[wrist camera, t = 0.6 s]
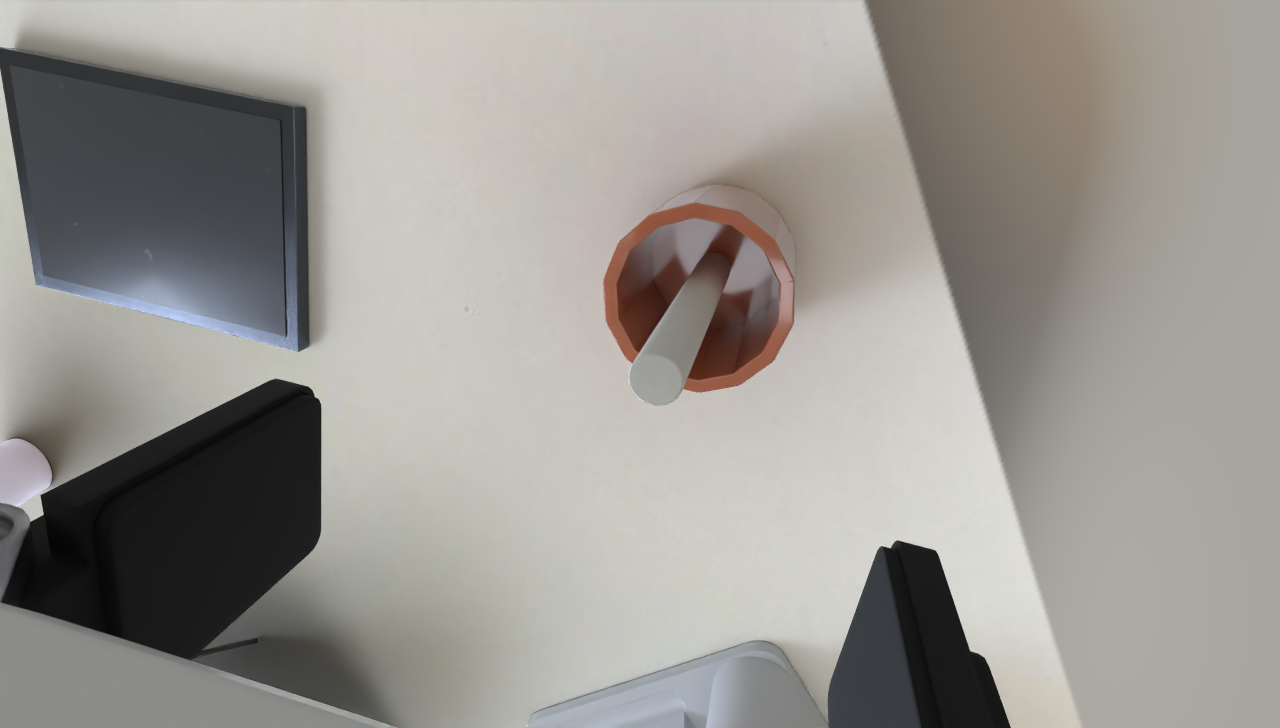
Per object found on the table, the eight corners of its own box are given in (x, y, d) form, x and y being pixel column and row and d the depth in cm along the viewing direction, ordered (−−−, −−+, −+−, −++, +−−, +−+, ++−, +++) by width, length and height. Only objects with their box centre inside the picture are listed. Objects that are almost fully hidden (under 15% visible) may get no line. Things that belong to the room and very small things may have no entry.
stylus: (703, 244, 30) (632, 347, 17) (736, 251, 30) (688, 360, 17) (697, 276, 30) (623, 399, 17) (729, 283, 30) (677, 412, 17)
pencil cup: (656, 170, 30) (617, 186, 23) (814, 201, 29) (818, 228, 22) (631, 315, 32) (589, 367, 26) (775, 348, 31) (770, 410, 25)
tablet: (13, 48, 34) (-6, 46, 33) (306, 106, 32) (293, 106, 31) (49, 281, 38) (34, 285, 38) (308, 347, 36) (298, 352, 36)
